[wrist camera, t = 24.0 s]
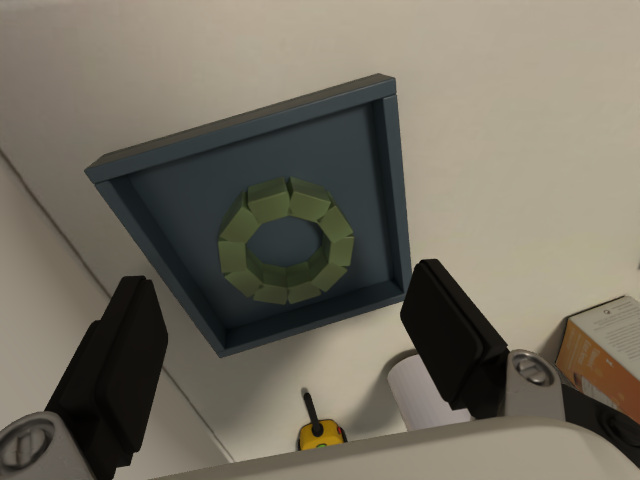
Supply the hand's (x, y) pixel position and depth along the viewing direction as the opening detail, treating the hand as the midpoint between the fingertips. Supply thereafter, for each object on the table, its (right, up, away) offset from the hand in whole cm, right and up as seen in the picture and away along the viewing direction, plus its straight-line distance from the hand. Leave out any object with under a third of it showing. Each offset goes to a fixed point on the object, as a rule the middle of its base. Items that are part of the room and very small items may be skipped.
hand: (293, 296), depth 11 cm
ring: (-1, +2, +5) cm, 6 cm away
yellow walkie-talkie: (+1, -16, +18) cm, 24 cm away
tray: (-1, +3, +5) cm, 6 cm away
